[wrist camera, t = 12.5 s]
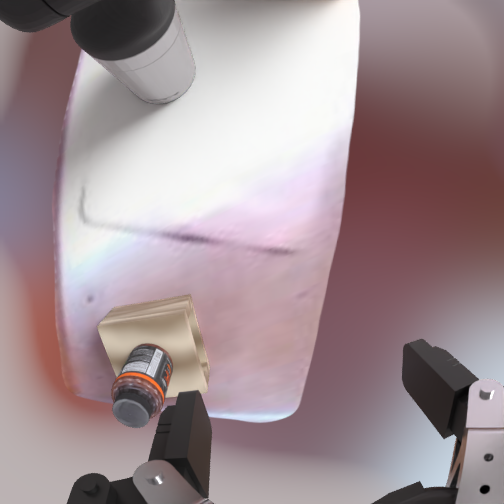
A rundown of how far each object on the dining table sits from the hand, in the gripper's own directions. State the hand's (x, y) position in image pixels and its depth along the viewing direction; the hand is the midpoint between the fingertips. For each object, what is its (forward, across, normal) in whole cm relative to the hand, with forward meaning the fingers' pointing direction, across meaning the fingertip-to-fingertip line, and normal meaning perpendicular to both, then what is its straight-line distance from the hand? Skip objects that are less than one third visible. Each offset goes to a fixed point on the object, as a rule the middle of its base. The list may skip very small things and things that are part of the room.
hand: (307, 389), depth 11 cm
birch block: (+33, +16, +12) cm, 39 cm away
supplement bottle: (+26, +16, +12) cm, 33 cm away
